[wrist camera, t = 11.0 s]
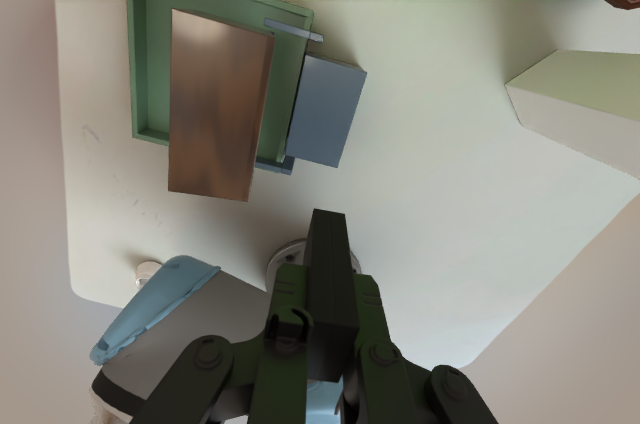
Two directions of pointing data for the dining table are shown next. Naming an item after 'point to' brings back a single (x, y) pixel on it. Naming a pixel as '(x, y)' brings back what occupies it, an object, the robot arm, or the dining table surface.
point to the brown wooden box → (216, 103)
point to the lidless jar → (145, 272)
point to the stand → (319, 107)
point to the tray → (154, 64)
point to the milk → (584, 104)
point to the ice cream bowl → (624, 4)
